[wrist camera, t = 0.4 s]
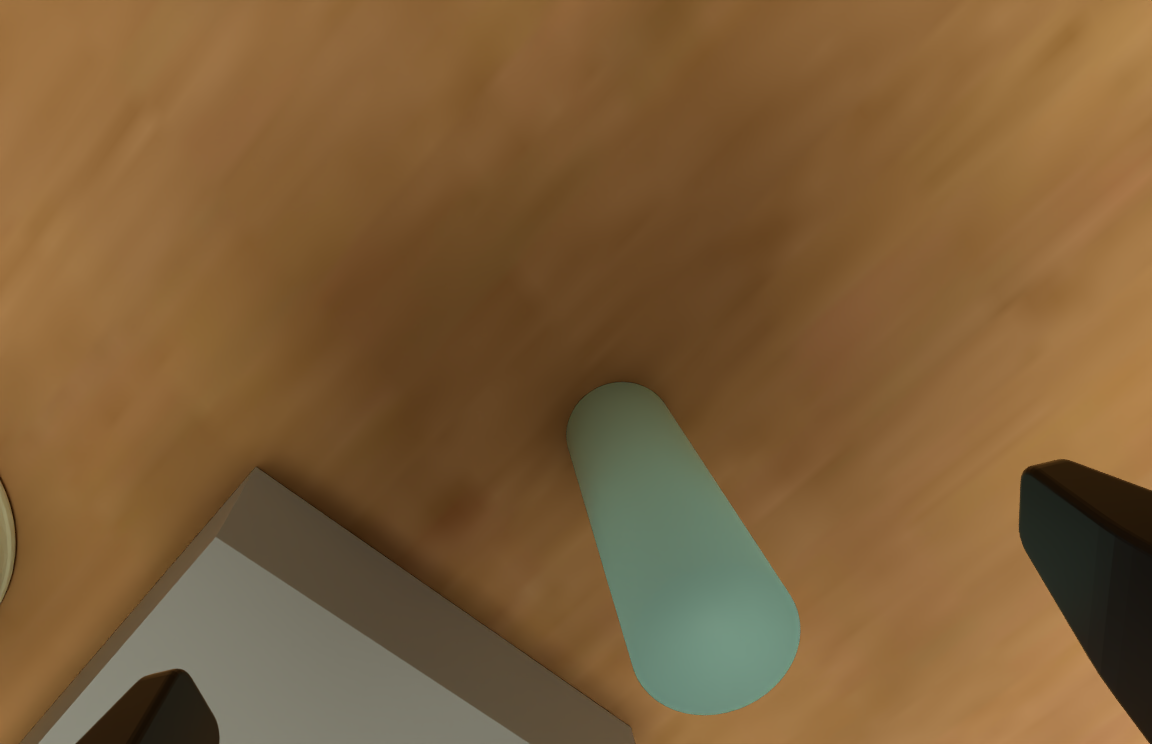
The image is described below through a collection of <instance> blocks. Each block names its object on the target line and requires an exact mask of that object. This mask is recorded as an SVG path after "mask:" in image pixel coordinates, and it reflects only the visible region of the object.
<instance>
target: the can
mask: <svg viewBox="0 0 1152 744" xmlns="http://www.w3.org/2000/svg"><path fill="white" fill-rule="evenodd" d="M15 547H16V539H15V528H14V520H13V515H12V511H11V507H10V503H9V500H8V498H7V495H6V492H5V490H4V487H3V485H2V483H1V481H0V603H1V601H2V599H3V597H4V595H5V593H6V590H7V588H8V585H9V581H10V578H11V575H12V572H13V565H14V558H15Z"/></svg>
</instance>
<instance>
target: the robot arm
mask: <svg viewBox="0 0 1152 744" xmlns="http://www.w3.org/2000/svg"><path fill="white" fill-rule="evenodd" d="M1019 533H1020V538H1021V541H1022V544H1023V547H1024V549H1025V551H1026V553H1027V554H1028V556H1029V558H1030V560H1031V561H1032V563H1033V565H1034V566H1035V568H1036V570H1037V571H1038V573H1039V575H1040V576H1041V578H1042V580H1043V582H1044V583H1045V585H1046V587H1047V588H1048V590H1049V592H1050V593H1051V595H1052V597H1053V598H1054V600H1055V602H1056V604H1057V605H1058V607H1059V609H1060V610H1061V612H1062V614H1063V615H1064V617H1065V619H1066V620H1067V622H1068V624H1069V626H1070V627H1071V629H1072V631H1073V632H1074V634H1075V636H1076V637H1077V639H1078V641H1079V643H1080V644H1081V646H1082V648H1083V649H1084V651H1085V653H1086V654H1087V656H1088V658H1089V659H1090V661H1091V662H1092V664H1093V666H1094V667H1095V669H1096V670H1097V672H1098V673H1099V675H1100V677H1101V678H1102V679H1103V681H1104V682H1105V684H1106V685H1107V686H1108V688H1109V689H1110V691H1111V692H1112V693H1113V695H1114V696H1115V698H1116V699H1117V700H1118V702H1119V703H1120V704H1121V706H1122V707H1123V708H1124V710H1125V711H1126V712H1127V714H1128V715H1129V716H1130V718H1131V719H1132V720H1133V722H1134V723H1135V724H1136V726H1137V727H1138V729H1139V730H1140V731H1141V733H1142V734H1143V735H1144V737H1145V738H1146V739H1147V741H1148V742H1149V743H1150V744H1152V491H1151V490H1149V489H1146V488H1143V487H1141V486H1138V485H1135V484H1132V483H1130V482H1127V481H1124V480H1122V479H1119V478H1116V477H1114V476H1111V475H1108V474H1105V473H1103V472H1100V471H1097V470H1095V469H1092V468H1089V467H1086V466H1084V465H1081V464H1078V463H1076V462H1073V461H1070V460H1065V459H1059V460H1054V461H1050V462H1045V463H1041V464H1037V465H1033V466H1030V467H1028V468H1026V469H1025V470H1024V471H1023V474H1022V476H1021V485H1020V510H1019ZM76 744H220V735H219V728H218V724H217V721H216V718H215V716H214V714H213V713H212V711H211V709H210V708H209V706H208V704H207V703H206V701H205V699H204V698H203V696H202V694H201V693H200V691H199V689H198V688H197V686H196V684H195V682H194V681H193V679H192V677H191V676H190V675H189V673H187V672H186V671H185V670H183V669H171V670H167V671H162V672H158V673H154V674H150V675H147V676H144V677H142V678H141V679H139V680H138V681H137V682H136V683H135V684H134V685H133V686H132V687H131V688H130V689H129V690H128V691H127V692H126V693H125V694H124V695H123V696H122V697H121V698H120V699H119V700H118V701H117V702H116V703H115V704H114V705H113V706H112V707H111V708H110V709H109V710H108V711H107V712H106V713H105V714H104V715H103V716H102V717H101V718H100V719H99V720H98V721H97V722H96V723H95V724H94V725H93V726H92V727H91V728H90V729H89V730H88V731H87V732H86V733H85V734H84V735H83V736H82V737H81V738H80V739H79V741H78V742H77V743H76Z"/></svg>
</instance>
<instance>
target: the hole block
mask: <svg viewBox="0 0 1152 744" xmlns="http://www.w3.org/2000/svg"><path fill="white" fill-rule="evenodd" d="M171 669H183V670H185V671H186V672H187V673H189V675H190V676H191V677H192V679H193V681H194V682H195V684H196V686H197V688H198V689H199V691H200V693H201V694H202V696H203V698H204V699H205V701H206V703H207V704H208V706H209V708H210V709H211V711H212V713H213V714H214V716H215V718H216V721H217V724H218V728H219V735H220V744H635V740H634V737H633V733H632V729H631V727H629V726H628V725H627V724H625V723H624V722H622V721H621V720H619V719H618V718H616V717H615V716H614V715H612V714H611V713H609V712H608V711H606V710H605V709H604V708H602V707H601V706H599V705H598V704H596V703H595V702H593V701H592V700H591V699H589V698H588V697H586V696H585V695H583V694H582V693H581V692H579V691H578V690H576V689H575V688H573V687H572V686H570V685H569V684H568V683H566V682H565V681H563V680H562V679H560V678H559V677H558V676H556V675H555V674H553V673H552V672H550V671H549V670H547V669H546V668H545V667H543V666H542V665H540V664H539V663H537V662H536V661H534V660H533V659H532V658H530V657H529V656H527V655H526V654H524V653H523V652H522V651H520V650H519V649H517V648H516V647H514V646H513V645H511V644H510V643H509V642H507V641H506V640H504V639H503V638H501V637H500V636H499V635H497V634H496V633H494V632H493V631H491V630H490V629H488V628H487V627H486V626H484V625H483V624H481V623H480V622H478V621H477V620H475V619H474V618H473V617H471V616H470V615H468V614H467V613H465V612H464V611H463V610H461V609H460V608H458V607H457V606H455V605H454V604H452V603H451V602H450V601H448V600H447V599H445V598H444V597H442V596H441V595H440V594H438V593H437V592H435V591H434V590H432V589H431V588H429V587H428V586H427V585H425V584H424V583H422V582H421V581H419V580H418V579H417V578H415V577H414V576H412V575H411V574H409V573H408V572H406V571H405V570H404V569H402V568H401V567H399V566H398V565H396V564H395V563H393V562H392V561H391V560H389V559H388V558H386V557H385V556H383V555H382V554H381V553H379V552H378V551H376V550H375V549H373V548H372V547H370V546H369V545H368V544H366V543H365V542H363V541H362V540H360V539H359V538H358V537H356V536H355V535H353V534H352V533H350V532H349V531H347V530H346V529H345V528H343V527H342V526H340V525H339V524H337V523H336V522H334V521H333V520H332V519H330V518H329V517H327V516H326V515H324V514H323V513H322V512H320V511H319V510H317V509H316V508H314V507H313V506H311V505H310V504H309V503H307V502H306V501H304V500H303V499H301V498H300V497H299V496H297V495H296V494H294V493H293V492H291V491H290V490H288V489H287V488H286V487H284V486H283V485H281V484H280V483H278V482H277V481H276V480H274V479H273V478H271V477H270V476H268V475H267V474H265V473H264V472H263V471H261V470H260V469H258V468H257V467H255V468H254V470H253V471H252V472H251V473H250V474H249V475H248V477H247V478H246V479H245V480H244V481H243V482H242V484H241V485H240V486H239V487H238V488H237V489H236V491H235V492H234V493H233V494H232V495H231V496H230V498H229V499H228V500H227V501H226V502H225V503H224V505H223V506H222V507H221V508H220V509H219V511H218V512H217V513H216V514H215V515H214V516H213V518H212V519H211V520H210V521H209V522H208V523H207V525H206V526H205V527H204V528H203V529H202V530H201V532H200V533H199V534H198V535H197V536H196V537H195V539H194V540H193V541H192V542H191V543H190V544H189V546H188V547H187V548H186V549H185V550H184V551H183V553H182V554H181V555H180V556H179V557H178V558H177V560H176V561H175V562H174V563H173V564H172V566H171V567H170V568H169V569H168V570H167V571H166V573H165V574H164V575H163V576H162V577H161V578H160V580H159V581H158V582H157V583H156V584H155V585H154V587H153V588H152V589H151V590H150V591H149V592H148V594H147V595H146V596H145V597H144V598H143V599H142V601H141V602H140V603H139V604H138V605H137V606H136V608H135V609H134V610H133V611H132V612H131V613H130V615H129V616H128V617H127V618H126V619H125V621H124V622H123V623H122V624H121V625H120V626H119V628H118V629H117V630H116V631H115V632H114V633H113V635H112V636H111V637H110V638H109V639H108V640H107V642H106V643H105V644H104V645H103V646H102V647H101V649H100V650H99V651H98V652H97V653H96V654H95V656H94V657H93V658H92V659H91V660H90V661H89V663H88V664H87V665H86V666H85V667H84V668H83V670H82V671H81V672H80V673H79V674H78V676H77V677H76V678H75V679H74V680H73V681H72V683H71V684H70V685H69V686H68V687H67V688H66V690H65V691H64V692H63V693H62V694H61V695H60V697H59V698H58V699H57V700H56V701H55V702H54V704H53V705H52V706H51V707H50V708H49V709H48V711H47V712H46V713H45V714H44V715H43V716H42V718H41V719H40V720H39V721H38V722H37V723H36V725H35V726H34V727H33V728H32V729H31V731H30V732H29V733H28V734H27V735H26V736H25V738H24V739H23V740H22V741H21V742H20V743H19V744H76V743H77V742H78V741H79V739H80V738H81V737H82V736H83V735H84V734H85V733H86V732H87V731H88V730H89V729H90V728H91V727H92V726H93V725H94V724H95V723H96V722H97V721H98V720H99V719H100V718H101V717H102V716H103V715H104V714H105V713H106V712H107V711H108V710H109V709H110V708H111V707H112V706H113V705H114V704H115V703H116V702H117V701H118V700H119V699H120V698H121V697H122V696H123V695H124V694H125V693H126V692H127V691H128V690H129V689H130V688H131V687H132V686H133V685H134V684H135V683H136V682H137V681H138V680H139V679H141V678H142V677H144V676H147V675H150V674H154V673H158V672H162V671H167V670H171Z"/></svg>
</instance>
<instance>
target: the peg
mask: <svg viewBox="0 0 1152 744" xmlns="http://www.w3.org/2000/svg"><path fill="white" fill-rule="evenodd" d="M566 439H567V446H568V449H569V453H570V456H571V459H572V463H573V466H574V470H575V473H576V476H577V480H578V483H579V486H580V490H581V493H582V497H583V500H584V503H585V507H586V510H587V514H588V517H589V520H590V524H591V527H592V531H593V534H594V537H595V541H596V544H597V547H598V551H599V554H600V558H601V561H602V564H603V568H604V571H605V575H606V578H607V581H608V585H609V588H610V591H611V595H612V598H613V602H614V605H615V608H616V612H617V615H618V619H619V622H620V625H621V629H622V632H623V635H624V639H625V642H626V646H627V649H628V652H629V656H630V659H631V663H632V666H633V669H634V672H635V674H636V676H637V679H638V680H639V682H640V683H641V685H642V687H643V688H644V689H645V690H646V691H647V692H648V693H649V695H651V696H652V697H653V698H654V699H655V700H657V701H658V702H660V703H661V704H663V705H665V706H667V707H669V708H671V709H673V710H676V711H679V712H683V713H688V714H694V715H715V714H722V713H727V712H730V711H734V710H737V709H740V708H742V707H745V706H747V705H749V704H751V703H753V702H754V701H756V700H758V699H759V698H761V697H762V696H764V695H765V694H767V693H768V692H769V691H770V690H771V689H772V688H773V687H775V686H776V684H777V683H778V682H779V681H780V680H781V679H782V678H783V676H784V675H785V674H786V672H787V671H788V669H789V668H790V666H791V664H792V662H793V660H794V657H795V655H796V652H797V649H798V645H799V640H800V620H799V615H798V611H797V608H796V606H795V603H794V601H793V600H792V598H791V596H790V594H789V593H788V591H787V590H786V588H785V587H784V585H783V584H782V582H781V581H780V579H779V577H778V576H777V574H776V573H775V571H774V570H773V568H772V567H771V565H770V564H769V562H768V561H767V559H766V558H765V556H764V555H763V553H762V552H761V550H760V548H759V547H758V545H757V544H756V542H755V541H754V539H753V538H752V536H751V535H750V533H749V532H748V530H747V529H746V527H745V526H744V524H743V523H742V521H741V519H740V518H739V516H738V515H737V513H736V512H735V510H734V509H733V507H732V506H731V504H730V503H729V501H728V500H727V498H726V497H725V495H724V494H723V492H722V490H721V489H720V487H719V486H718V484H717V483H716V481H715V480H714V478H713V477H712V475H711V474H710V472H709V471H708V469H707V468H706V466H705V465H704V463H703V461H702V460H701V458H700V457H699V455H698V454H697V452H696V451H695V449H694V448H693V446H692V445H691V443H690V442H689V440H688V439H687V437H686V436H685V434H684V432H683V431H682V429H681V428H680V426H679V425H678V423H677V422H676V420H675V419H674V417H673V416H672V414H671V413H670V411H669V410H668V408H667V407H666V405H665V404H664V402H663V401H662V400H661V398H660V397H659V396H658V395H657V394H655V393H654V392H653V391H651V390H650V389H648V388H646V387H644V386H641V385H639V384H635V383H629V382H616V383H610V384H606V385H603V386H601V387H598V388H596V389H594V390H593V391H591V392H590V393H588V394H587V395H586V396H584V397H583V398H582V399H581V400H580V401H579V403H578V404H577V405H576V407H575V408H574V410H573V411H572V413H571V416H570V418H569V421H568V425H567V431H566Z"/></svg>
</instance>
